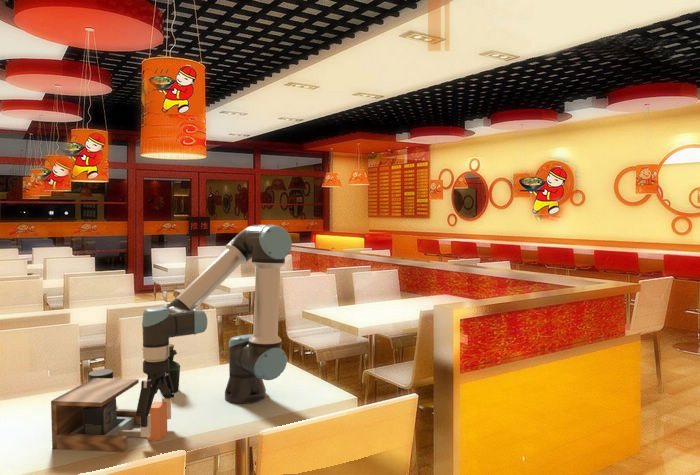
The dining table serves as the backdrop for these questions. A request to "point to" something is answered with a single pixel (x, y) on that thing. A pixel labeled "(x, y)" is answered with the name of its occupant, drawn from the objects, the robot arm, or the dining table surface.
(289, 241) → the robot arm
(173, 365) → the potion bottle
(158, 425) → the grey and orange frame
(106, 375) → the jar
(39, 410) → the dining table surface
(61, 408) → the shelf lane
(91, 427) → the small box
